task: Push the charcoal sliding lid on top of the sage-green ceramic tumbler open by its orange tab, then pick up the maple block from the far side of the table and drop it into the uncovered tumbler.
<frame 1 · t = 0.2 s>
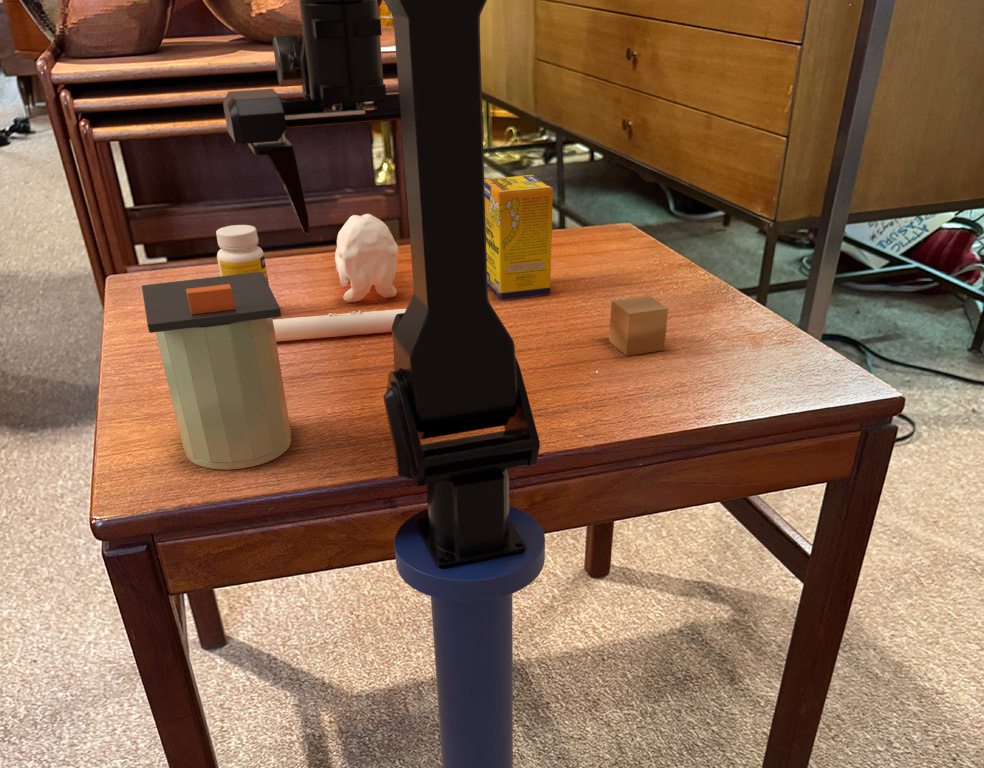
hand: (360, 226, 79), 13 cm above the table, tool pointing down, fingers open, 9 cm apart
penguin figurine: (364, 292, 105), on the table
supplement box: (516, 291, 104), on the table
white rod: (354, 336, 94), on the table
tumbler: (238, 445, 75), on the table
slider: (207, 289, 67), point 12 cm above the table, slide at 0.0 cm
supplement bottle: (251, 315, 99), on the table
block: (636, 346, 90), on the table
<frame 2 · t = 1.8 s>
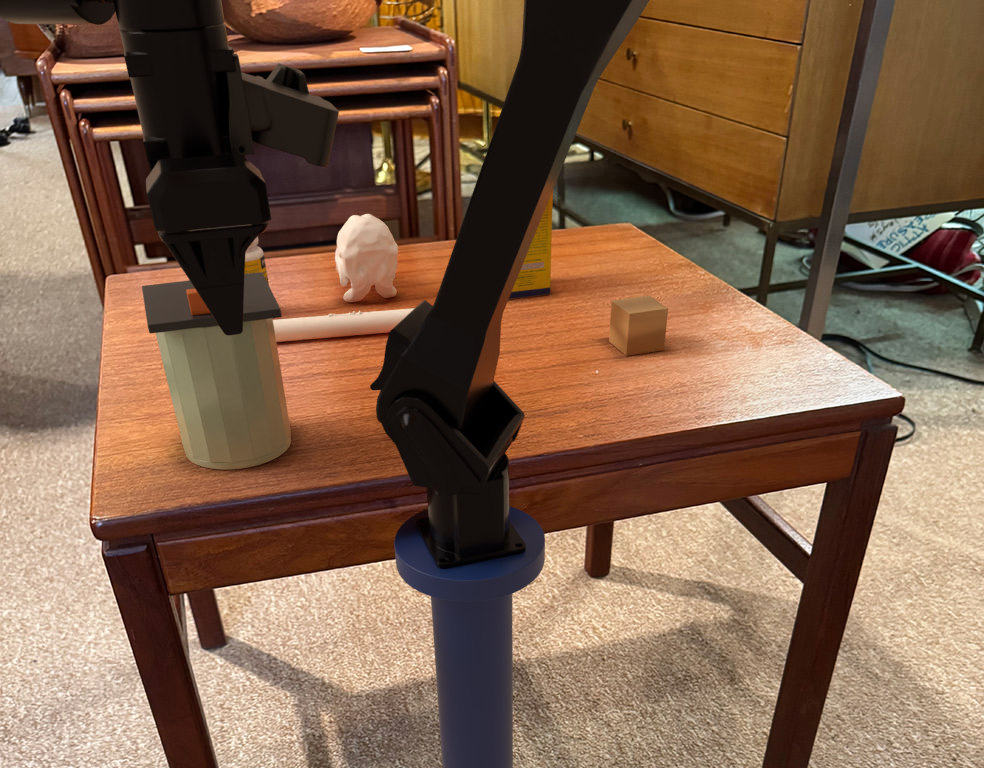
hand: (227, 309, 62), 13 cm above the table, tool pointing down, fingers open, 9 cm apart
slider: (207, 290, 67), point 12 cm above the table, slide at -0.1 cm, touching gripper
everything else where it was.
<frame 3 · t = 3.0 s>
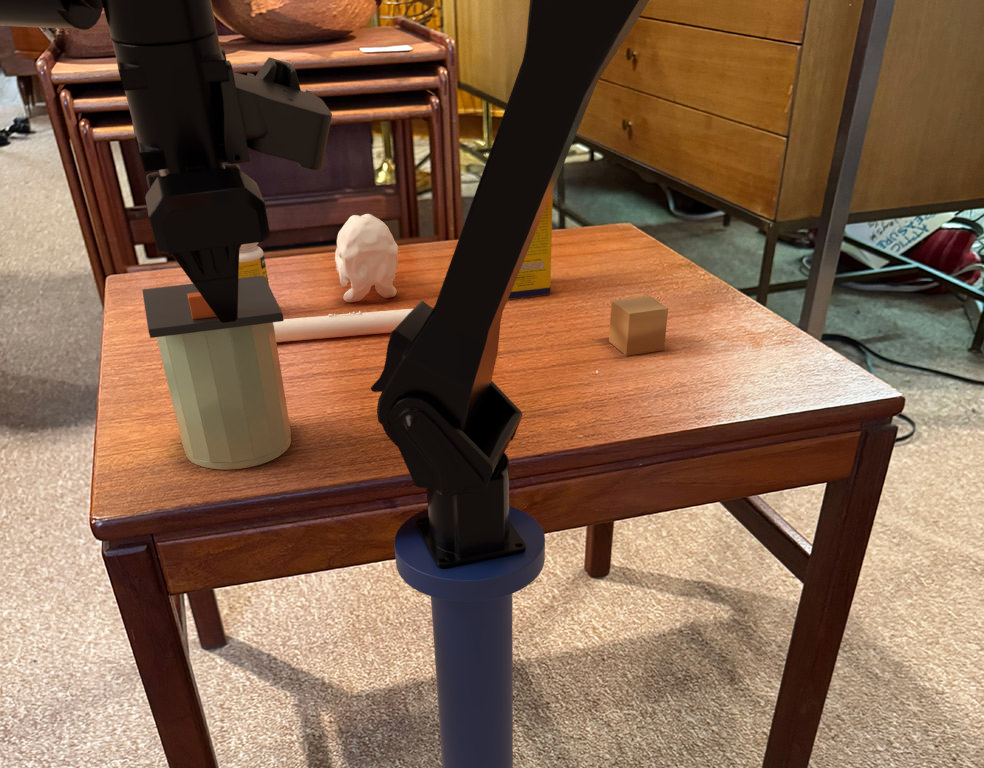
hand: (225, 306, 63), 13 cm above the table, tool pointing down, fingers open, 4 cm apart
slider: (208, 294, 67), point 12 cm above the table, slide at -1.0 cm, touching gripper
everything else where it was.
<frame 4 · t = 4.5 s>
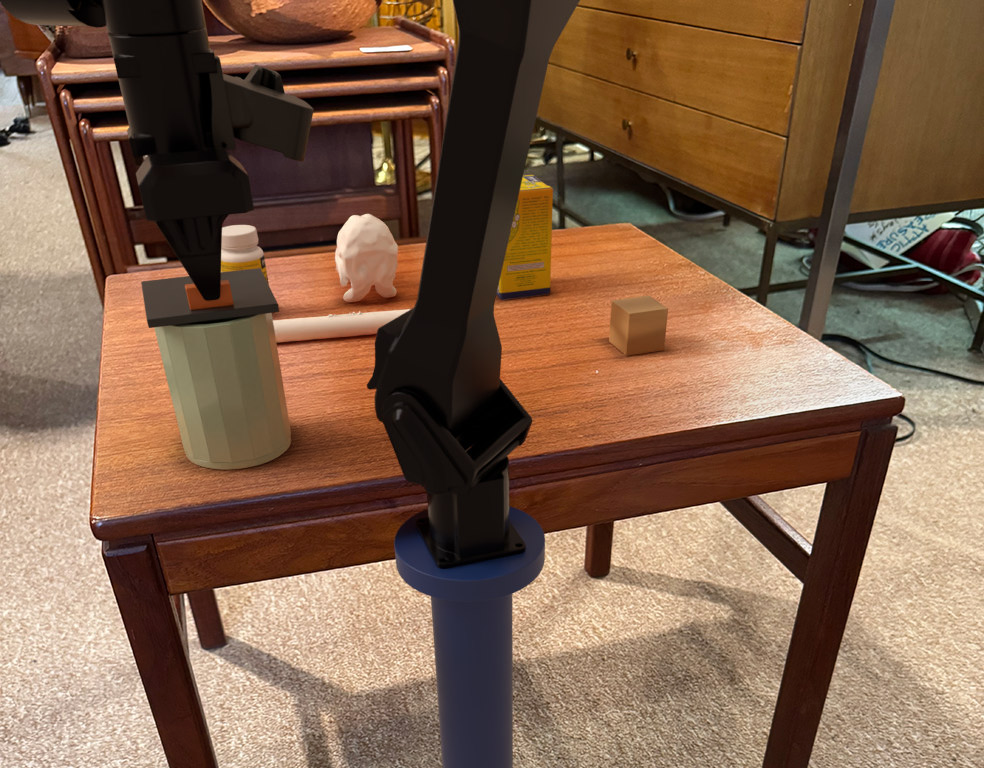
hand: (211, 296, 66), 12 cm above the table, tool pointing down, fingers closed, pressing on slider
slider: (205, 285, 68), point 12 cm above the table, slide at 1.0 cm, touching gripper
everything else where it was.
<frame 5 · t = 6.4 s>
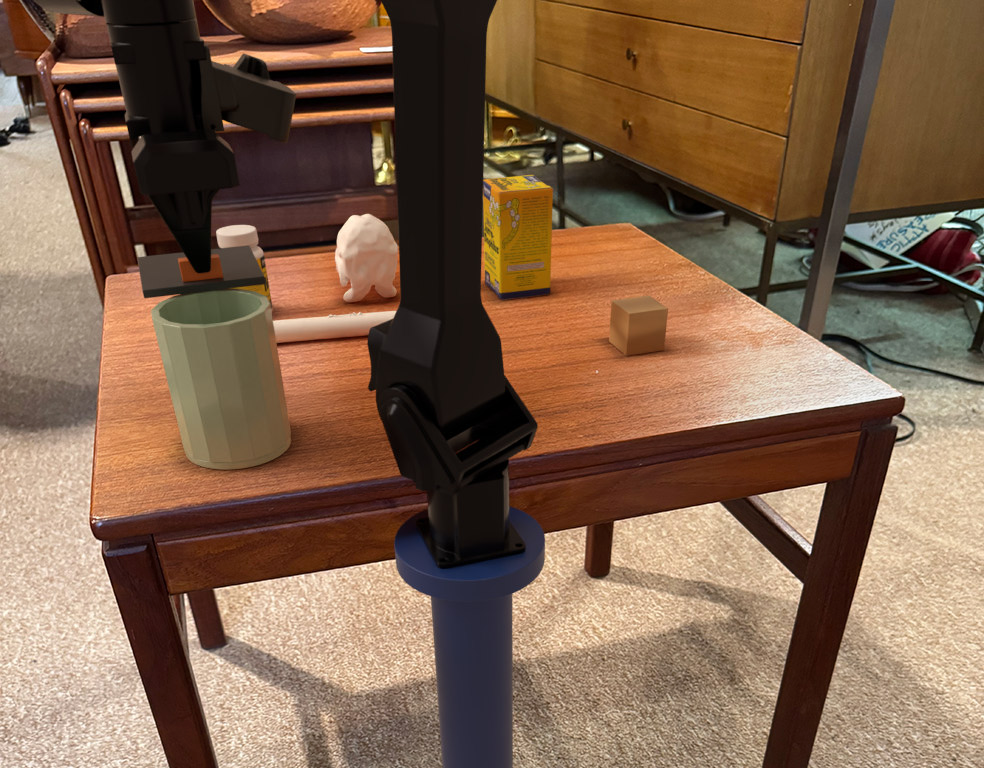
hand: (202, 269, 71), 12 cm above the table, tool pointing down, fingers closed, pressing on slider
slider: (197, 260, 73), point 12 cm above the table, slide at 7.7 cm, touching gripper
everything else where it was.
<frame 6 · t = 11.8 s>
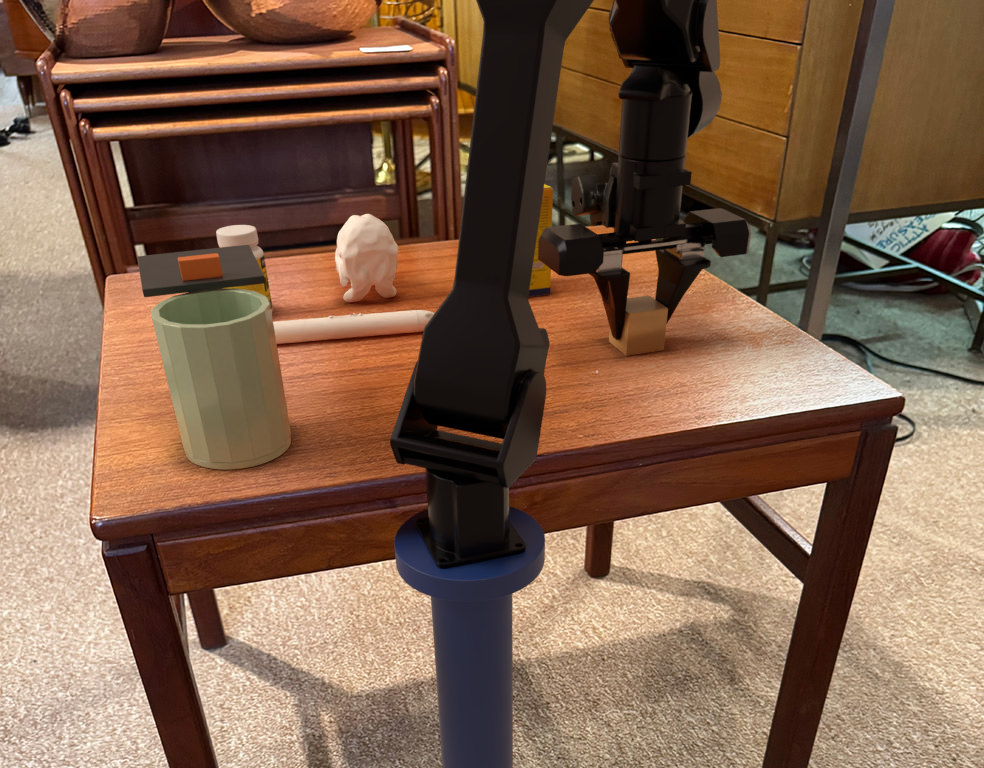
hand: (637, 335, 90), 1 cm above the table, tool pointing down, fingers closed on block, 4 cm apart
slider: (197, 259, 73), point 12 cm above the table, slide at 7.9 cm
block: (636, 346, 90), on the table, touching gripper
everything else where it was.
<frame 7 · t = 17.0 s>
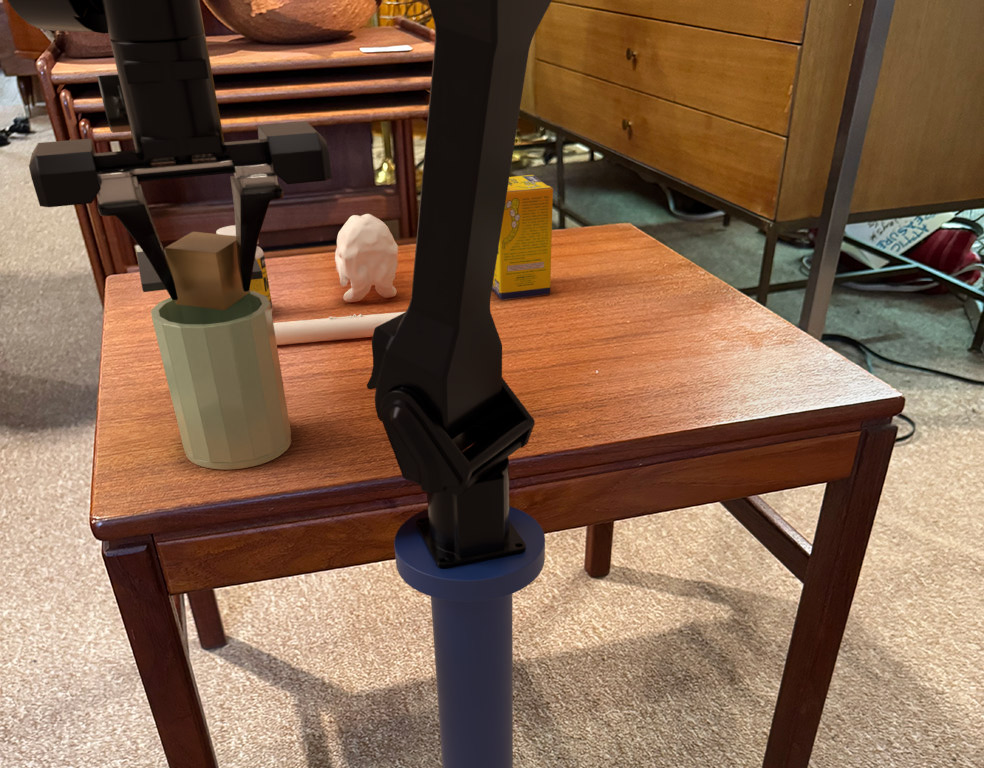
hand: (210, 294, 68), 12 cm above the table, tool pointing down, fingers closed on block, 5 cm apart
slider: (196, 255, 74), point 12 cm above the table, slide at 9.2 cm
block: (213, 298, 69), point 11 cm above the table, touching gripper, tumbler
everything else where it was.
when the fingers open (12 cm above the table, at t = 17.1 s): block drops 8 cm and tips over, resting on tumbler.
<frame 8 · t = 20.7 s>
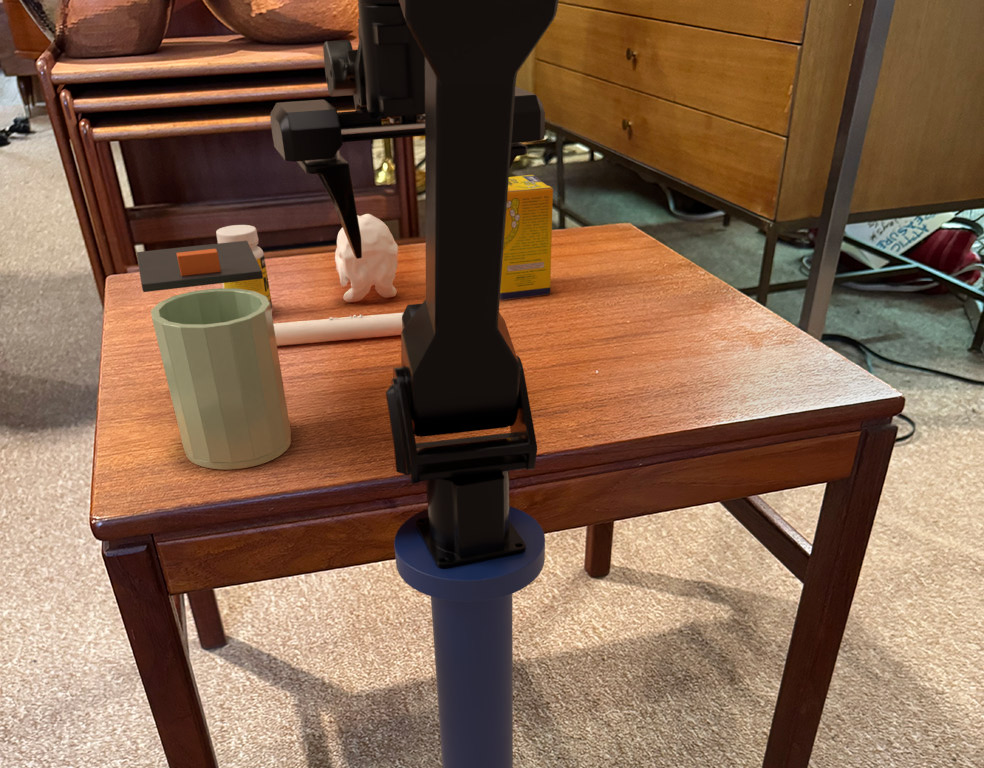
hand: (416, 250, 71), 13 cm above the table, tool pointing down, fingers open, 9 cm apart
block: (237, 403, 74), point 3 cm above the table, tilted 83°, touching tumbler
at the end: slider slide at 9.2 cm; block inside the target area in the tumbler (1.3 cm from its centre), point 3.0 cm above the tumbler's base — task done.
